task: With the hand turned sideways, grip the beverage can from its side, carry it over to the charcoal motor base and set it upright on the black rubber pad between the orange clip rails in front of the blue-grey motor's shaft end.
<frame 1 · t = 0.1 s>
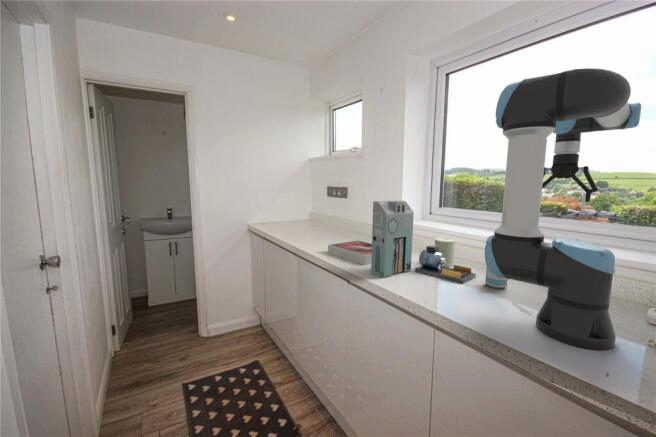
hand: (559, 209, 111), 28 cm above the worktop, tool pointing down, fingers open, 13 cm apart
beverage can: (495, 286, 106), on the worktop
product packaging: (360, 256, 148), on the worktop
can: (443, 264, 135), on the worktop
motor: (444, 274, 119), on the worktop
device: (391, 272, 121), on the worktop
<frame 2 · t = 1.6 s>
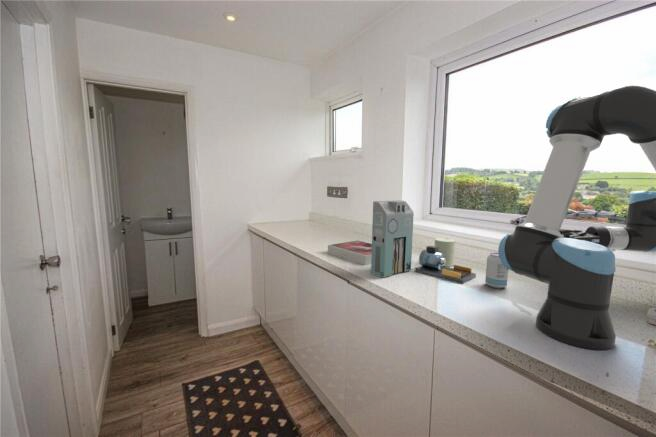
hand: (530, 234, 101), 20 cm above the worktop, tool horizontal, fingers open, 13 cm apart
nothing on the worktop moved.
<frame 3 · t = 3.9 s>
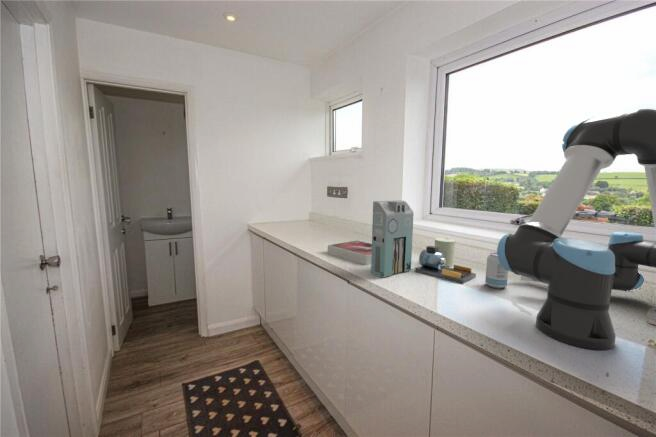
hand: (514, 270, 104), 6 cm above the worktop, tool horizontal, fingers open, 13 cm apart
nothing on the worktop moved.
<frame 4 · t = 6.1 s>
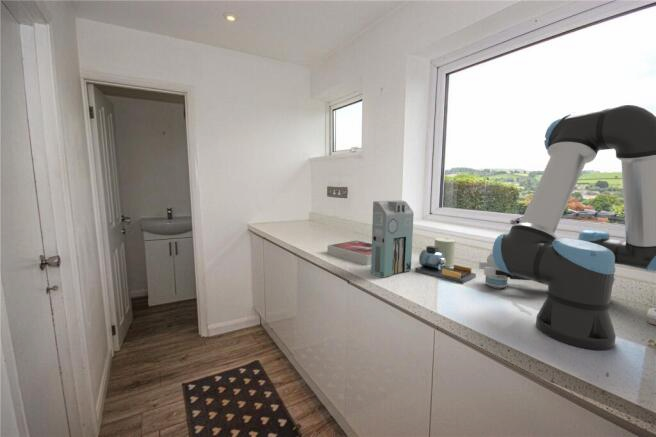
hand: (482, 267, 106), 7 cm above the worktop, tool horizontal, fingers closed on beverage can, 7 cm apart
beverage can: (495, 286, 105), on the worktop, touching gripper
everything else where it was.
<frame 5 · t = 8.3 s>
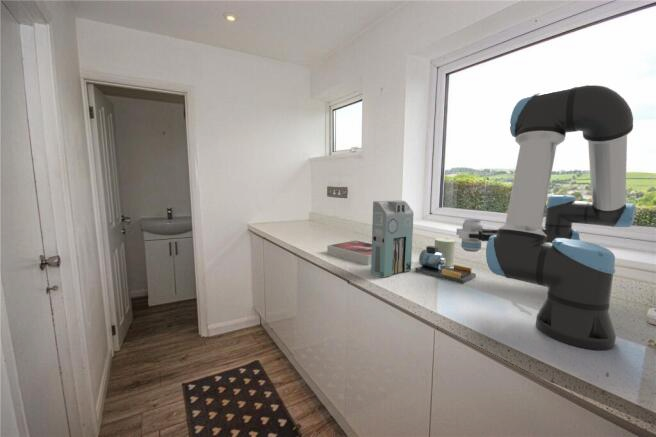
hand: (457, 233, 113), 18 cm above the worktop, tool horizontal, fingers closed on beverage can, 7 cm apart
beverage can: (470, 250, 112), point 11 cm above the worktop, touching gripper
everything else where it was.
when the fingers open (10 cm above the worktop, at t = 10.4 s): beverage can drops 1 cm, resting on motor.
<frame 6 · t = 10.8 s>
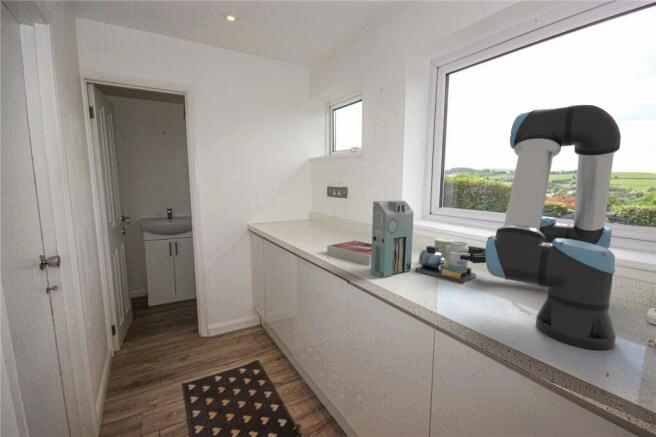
hand: (448, 252, 115), 10 cm above the worktop, tool horizontal, fingers open, 11 cm apart
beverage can: (457, 272, 115), point 2 cm above the worktop, touching motor
everything else where it was.
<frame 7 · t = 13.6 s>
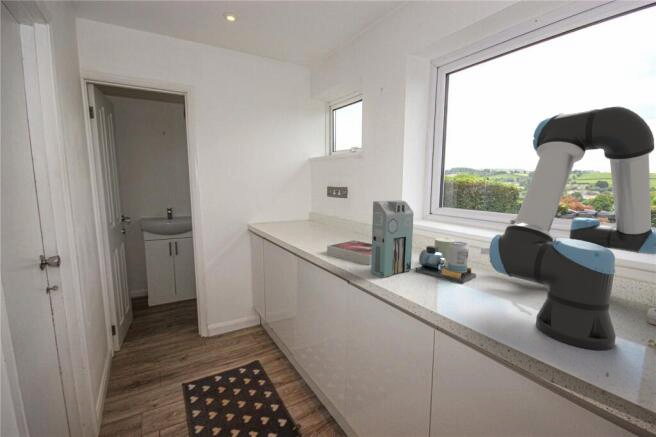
hand: (485, 254, 111), 10 cm above the worktop, tool horizontal, fingers open, 13 cm apart
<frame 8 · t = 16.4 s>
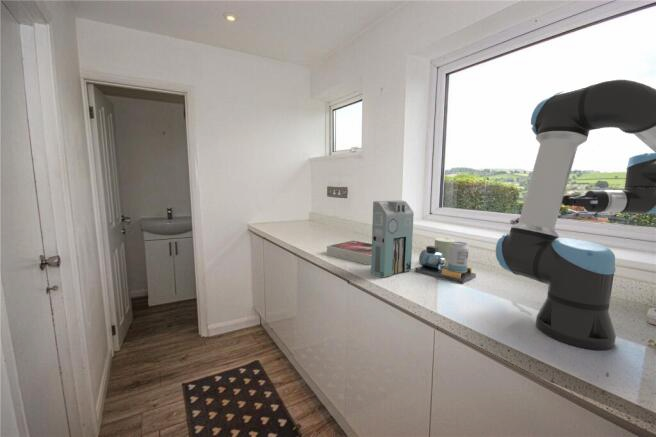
hand: (530, 199, 102), 32 cm above the worktop, tool horizontal, fingers open, 13 cm apart
at the end: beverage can 0.1 cm from the target spot on the motor, point 1.8 cm above the motor's base; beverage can tilted 0°; the gripper is holding nothing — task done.
